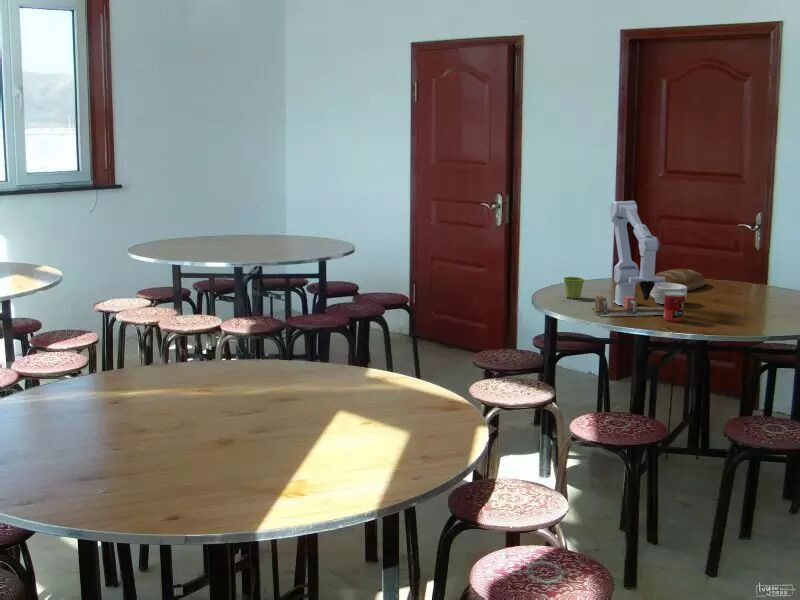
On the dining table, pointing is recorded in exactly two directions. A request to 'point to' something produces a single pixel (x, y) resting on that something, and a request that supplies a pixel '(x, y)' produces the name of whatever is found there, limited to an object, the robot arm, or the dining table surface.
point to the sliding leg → (629, 303)
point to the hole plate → (632, 313)
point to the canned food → (674, 306)
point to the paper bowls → (666, 290)
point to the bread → (683, 278)
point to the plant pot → (573, 286)
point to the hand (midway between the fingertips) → (645, 299)
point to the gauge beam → (602, 307)
